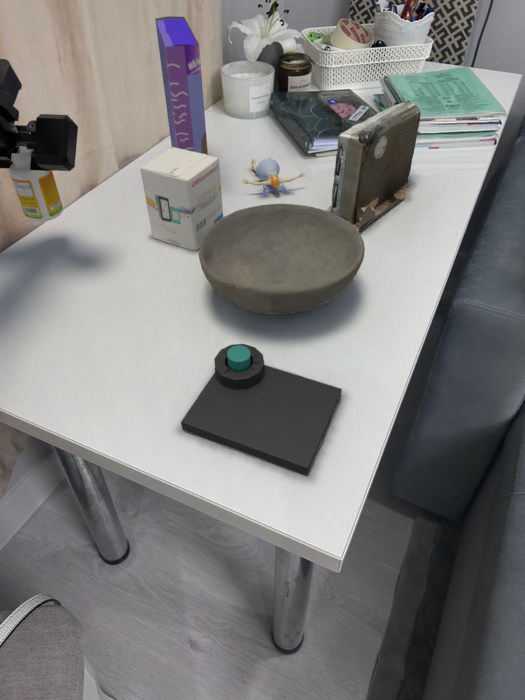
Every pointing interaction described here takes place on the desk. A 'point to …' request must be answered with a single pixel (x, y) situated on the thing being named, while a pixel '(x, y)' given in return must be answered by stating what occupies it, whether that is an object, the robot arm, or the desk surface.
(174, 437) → the desk surface
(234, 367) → the button
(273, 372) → the scale
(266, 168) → the fairy figurine
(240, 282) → the bowl
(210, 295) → the desk surface
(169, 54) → the cereal box
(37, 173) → the supplement bottle
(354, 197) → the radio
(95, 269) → the desk surface
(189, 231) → the ink box
